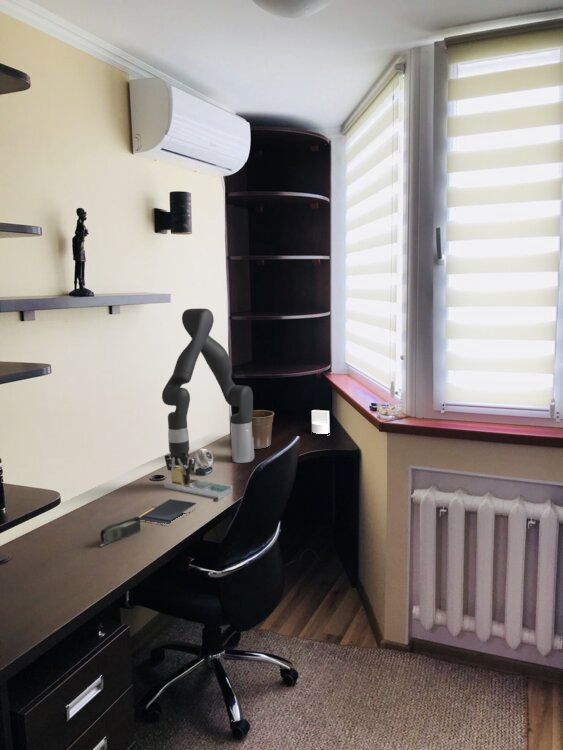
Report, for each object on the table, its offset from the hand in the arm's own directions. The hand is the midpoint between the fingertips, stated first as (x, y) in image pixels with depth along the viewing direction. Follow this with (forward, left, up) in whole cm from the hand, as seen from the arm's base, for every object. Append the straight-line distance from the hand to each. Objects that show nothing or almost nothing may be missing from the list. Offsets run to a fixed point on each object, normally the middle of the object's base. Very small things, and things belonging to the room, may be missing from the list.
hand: (181, 482), depth 220 cm
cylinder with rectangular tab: (-94, +10, -3) cm, 95 cm away
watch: (-16, -2, -3) cm, 16 cm away
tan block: (0, 0, -1) cm, 1 cm away
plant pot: (-61, -6, -3) cm, 61 cm away
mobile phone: (+43, +13, -3) cm, 45 cm away
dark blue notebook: (+20, +12, -3) cm, 24 cm away
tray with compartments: (0, +8, -2) cm, 8 cm away
